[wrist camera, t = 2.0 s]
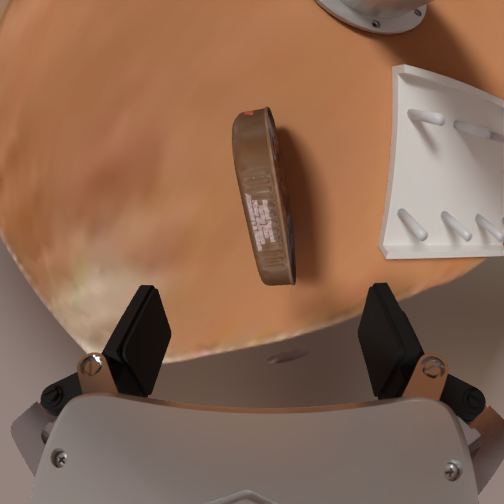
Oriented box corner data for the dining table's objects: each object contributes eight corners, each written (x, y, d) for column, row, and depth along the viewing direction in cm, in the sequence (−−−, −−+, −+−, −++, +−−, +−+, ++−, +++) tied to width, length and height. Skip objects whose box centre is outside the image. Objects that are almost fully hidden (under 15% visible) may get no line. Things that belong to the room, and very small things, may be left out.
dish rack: (391, 66, 18) (424, 60, 13) (519, 113, 16) (552, 123, 11) (377, 245, 28) (398, 279, 22) (495, 245, 26) (520, 270, 21)
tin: (295, 252, 29) (303, 305, 22) (266, 255, 29) (264, 310, 22) (272, 105, 21) (273, 105, 14) (237, 112, 22) (221, 115, 15)
